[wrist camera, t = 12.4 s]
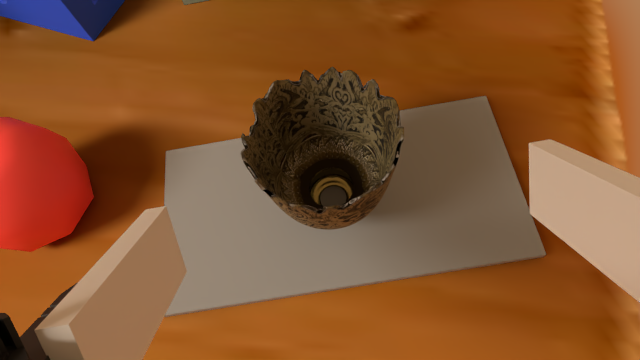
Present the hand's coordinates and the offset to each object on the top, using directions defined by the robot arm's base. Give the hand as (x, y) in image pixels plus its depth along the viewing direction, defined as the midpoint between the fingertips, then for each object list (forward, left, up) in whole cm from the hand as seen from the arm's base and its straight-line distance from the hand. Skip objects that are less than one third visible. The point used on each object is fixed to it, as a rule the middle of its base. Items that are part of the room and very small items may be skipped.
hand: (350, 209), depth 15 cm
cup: (-1, +5, -10) cm, 11 cm away
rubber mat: (0, +5, -10) cm, 11 cm away
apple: (-19, +8, -11) cm, 24 cm away
